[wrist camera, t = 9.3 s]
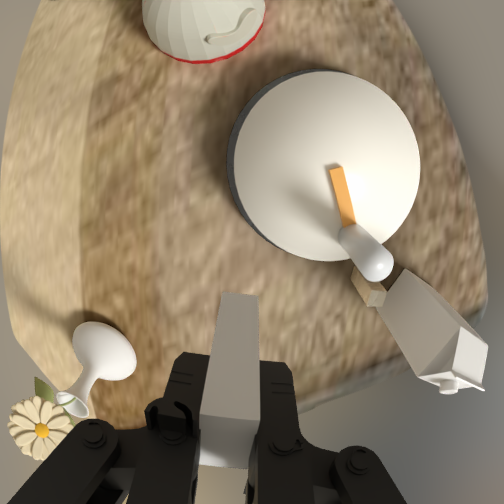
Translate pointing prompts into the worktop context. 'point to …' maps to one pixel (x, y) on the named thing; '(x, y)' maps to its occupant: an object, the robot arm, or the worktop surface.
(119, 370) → the flower in vase
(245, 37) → the kitchen timer
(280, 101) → the dial
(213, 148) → the worktop surface
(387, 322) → the milk carton
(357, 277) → the dial base
